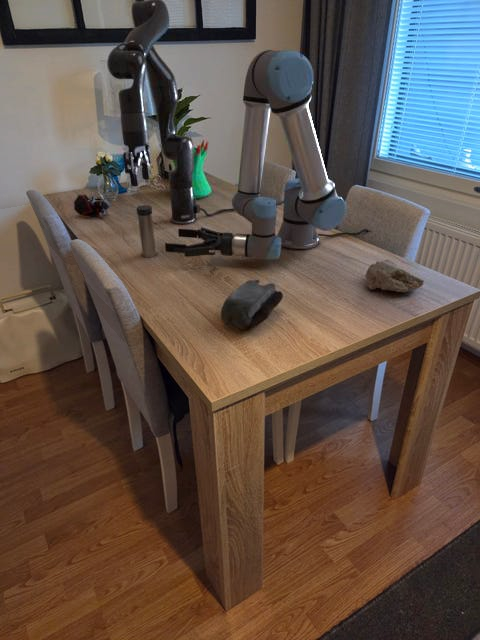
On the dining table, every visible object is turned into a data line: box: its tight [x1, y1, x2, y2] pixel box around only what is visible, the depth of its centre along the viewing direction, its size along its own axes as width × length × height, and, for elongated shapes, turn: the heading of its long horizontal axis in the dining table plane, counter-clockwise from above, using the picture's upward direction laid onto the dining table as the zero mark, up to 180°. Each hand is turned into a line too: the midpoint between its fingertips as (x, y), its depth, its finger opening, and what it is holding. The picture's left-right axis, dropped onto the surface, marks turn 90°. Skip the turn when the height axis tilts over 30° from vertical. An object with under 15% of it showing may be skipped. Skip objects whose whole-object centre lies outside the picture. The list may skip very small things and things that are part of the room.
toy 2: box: [168, 137, 212, 200], centre depth 210 cm, size 20×20×25 cm
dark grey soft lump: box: [220, 279, 284, 332], centre depth 117 cm, size 18×11×8 cm, turn 152°
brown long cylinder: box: [137, 213, 157, 258], centre depth 151 cm, size 4×4×16 cm
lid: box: [136, 204, 153, 216], centre depth 147 cm, size 5×5×2 cm
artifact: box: [365, 259, 424, 293], centre depth 134 cm, size 18×8×15 cm
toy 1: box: [73, 194, 111, 220], centre depth 187 cm, size 12×9×15 cm
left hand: (140, 182), depth 142 cm, fingers open, 8 cm apart
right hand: (172, 239), depth 150 cm, fingers open, 13 cm apart
